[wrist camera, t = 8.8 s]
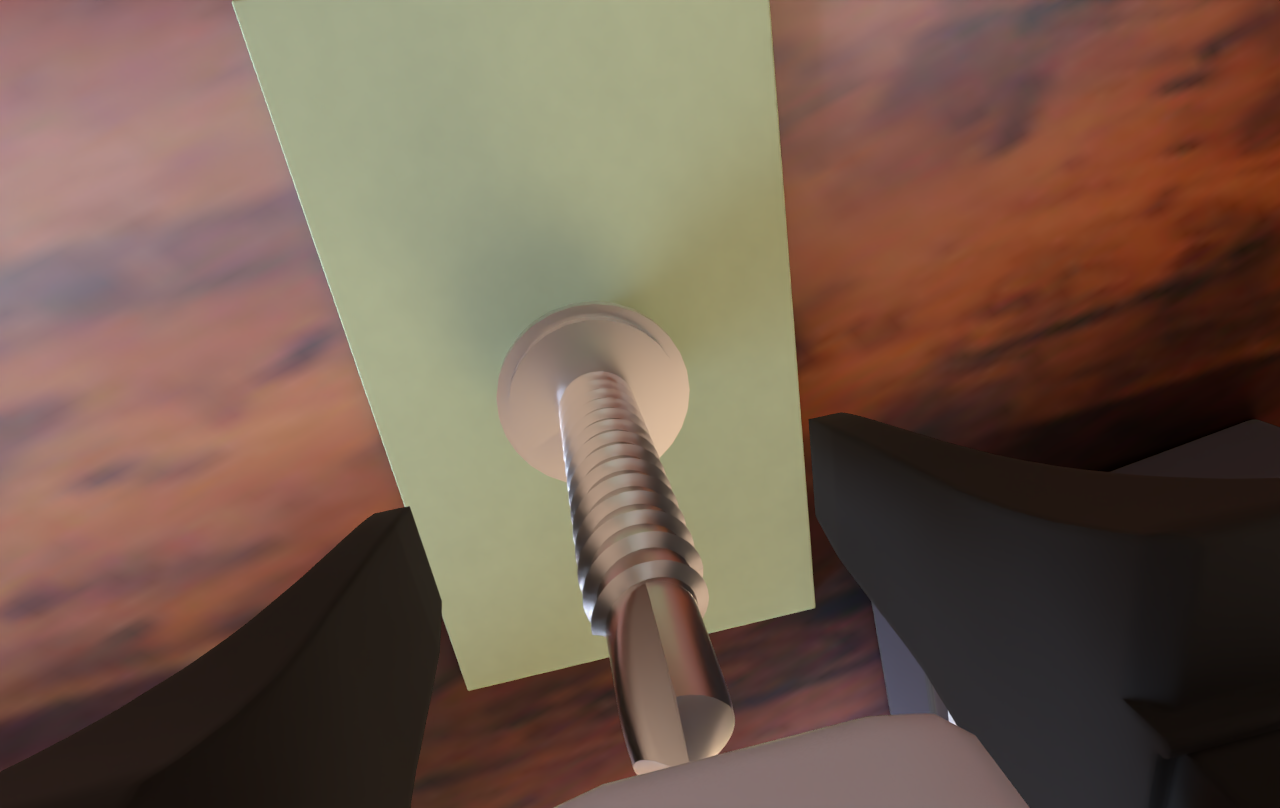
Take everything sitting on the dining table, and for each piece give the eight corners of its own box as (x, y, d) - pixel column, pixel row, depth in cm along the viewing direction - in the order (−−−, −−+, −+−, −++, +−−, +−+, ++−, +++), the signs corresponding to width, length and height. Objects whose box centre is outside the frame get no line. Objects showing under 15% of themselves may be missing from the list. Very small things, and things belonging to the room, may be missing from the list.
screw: (660, 271, 18) (682, 433, 20) (480, 304, 18) (520, 466, 20) (914, 528, 6) (911, 869, 8) (386, 647, 6) (510, 976, 8)
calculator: (1336, 714, 25) (965, 869, 24) (1220, 636, 29) (897, 765, 27) (1386, 457, 21) (936, 630, 19) (1242, 407, 24) (860, 548, 23)
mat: (809, 597, 24) (816, 608, 23) (469, 678, 23) (467, 692, 22) (755, -75, 16) (763, -83, 16) (240, 4, 15) (229, -1, 15)
